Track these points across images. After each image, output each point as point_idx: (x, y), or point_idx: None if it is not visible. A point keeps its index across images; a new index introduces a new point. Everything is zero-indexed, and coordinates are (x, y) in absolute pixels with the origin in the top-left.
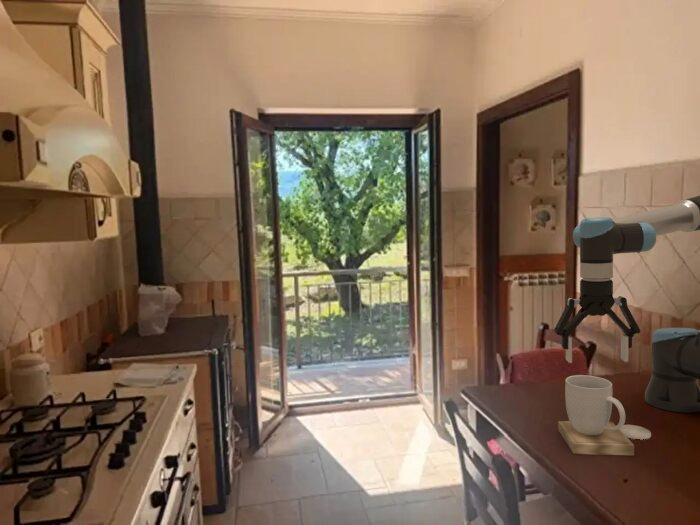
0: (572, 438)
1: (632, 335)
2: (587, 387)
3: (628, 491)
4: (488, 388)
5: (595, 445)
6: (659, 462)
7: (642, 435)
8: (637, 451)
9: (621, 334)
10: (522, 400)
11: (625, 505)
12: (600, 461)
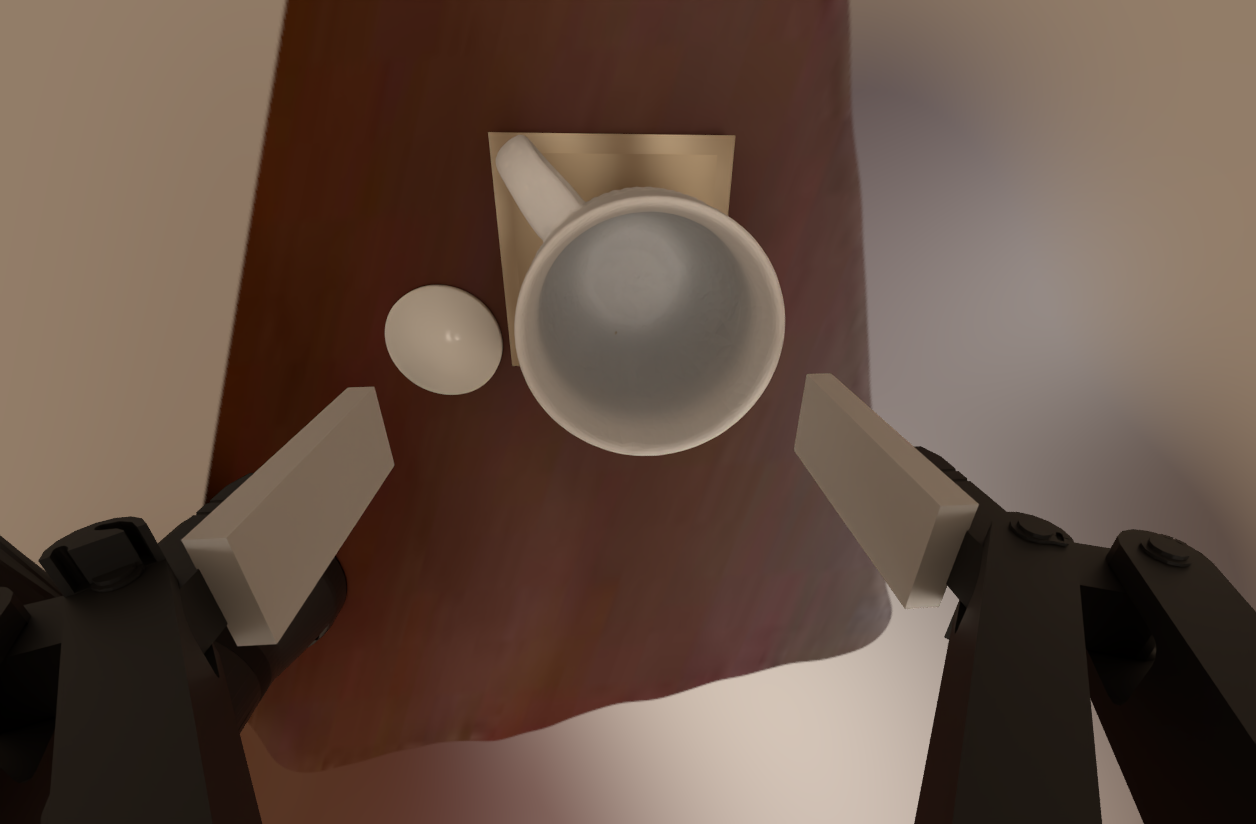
0: (718, 197)
1: (95, 530)
2: (618, 409)
3: None
4: (812, 644)
5: (646, 134)
6: (412, 70)
7: (421, 303)
8: (473, 176)
9: (269, 630)
10: (740, 570)
11: None
12: (644, 68)
